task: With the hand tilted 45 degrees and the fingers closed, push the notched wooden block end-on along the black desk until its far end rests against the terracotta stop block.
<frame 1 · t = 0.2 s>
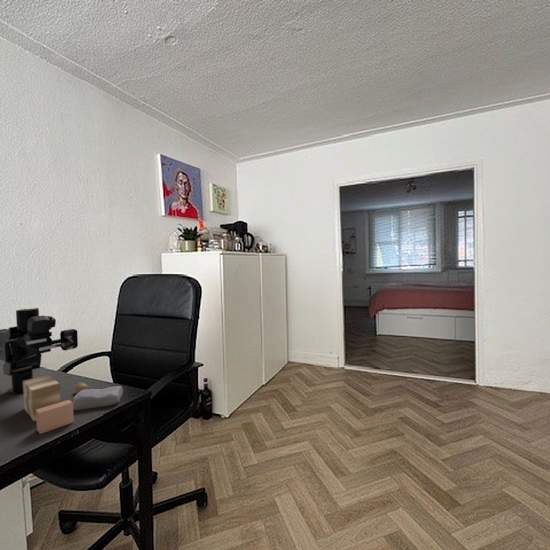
hand: (55, 348, 89), 16 cm above the table, tool horizontal, fingers open, 9 cm apart
stop block: (55, 425, 76), on the table
notched wooden block: (41, 396, 85), point 4 cm above the table, slide at 0.0 cm
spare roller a: (82, 393, 97), on the table
stone block: (100, 402, 90), on the table
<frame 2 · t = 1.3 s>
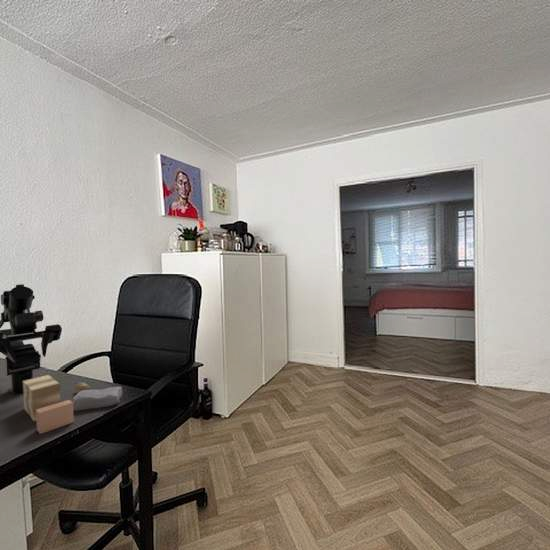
hand: (30, 358, 93), 13 cm above the table, tool tilted 45°, fingers open, 7 cm apart
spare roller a: (82, 393, 97), on the table, tilted 8°
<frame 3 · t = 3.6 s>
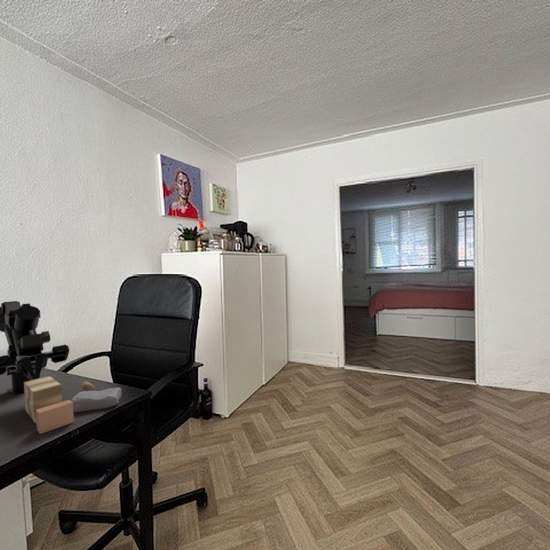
hand: (36, 383, 88), 7 cm above the table, tool tilted 45°, fingers closed, pressing on notched wooden block
notched wooden block: (42, 397, 84), point 4 cm above the table, slide at 1.5 cm, touching gripper
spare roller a: (83, 391, 97), on the table, tilted 50°
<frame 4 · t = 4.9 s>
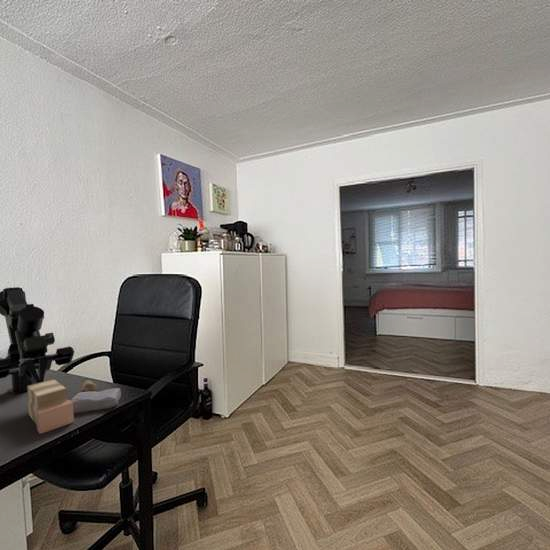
hand: (40, 386, 85), 7 cm above the table, tool tilted 45°, fingers closed, pressing on notched wooden block
notched wooden block: (47, 402, 81), point 4 cm above the table, slide at 6.2 cm, touching gripper, stop block
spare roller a: (84, 389, 97), point 1 cm above the table, tilted 79°
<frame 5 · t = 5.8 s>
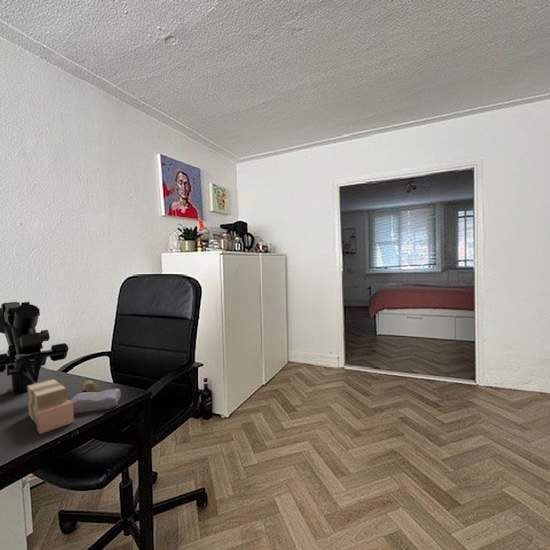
hand: (35, 381, 89), 7 cm above the table, tool tilted 45°, fingers closed
notched wooden block: (47, 402, 81), point 4 cm above the table, slide at 6.2 cm, touching stop block
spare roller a: (84, 388, 97), point 1 cm above the table, tilted 86°
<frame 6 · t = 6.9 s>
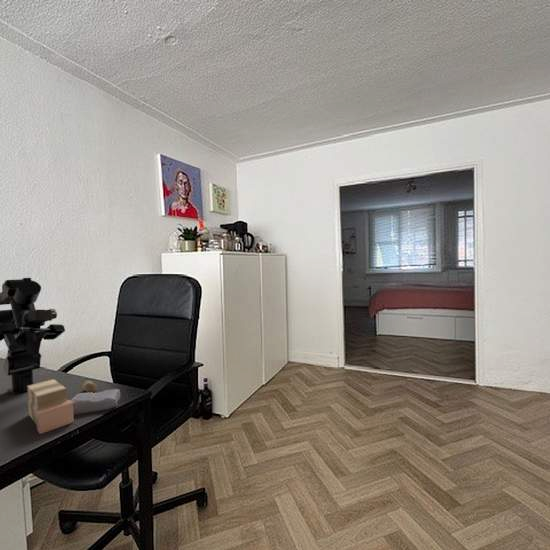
hand: (36, 356, 93), 13 cm above the table, tool tilted 35°, fingers closed
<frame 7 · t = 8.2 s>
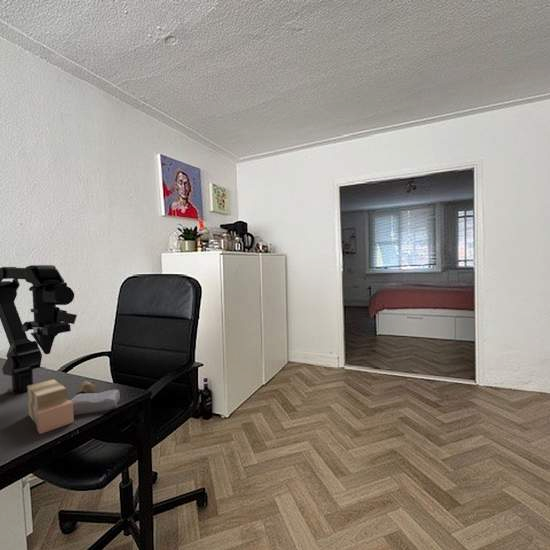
hand: (47, 353, 96), 13 cm above the table, tool pointing down, fingers closed
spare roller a: (83, 391, 97), point 1 cm above the table, tilted 56°
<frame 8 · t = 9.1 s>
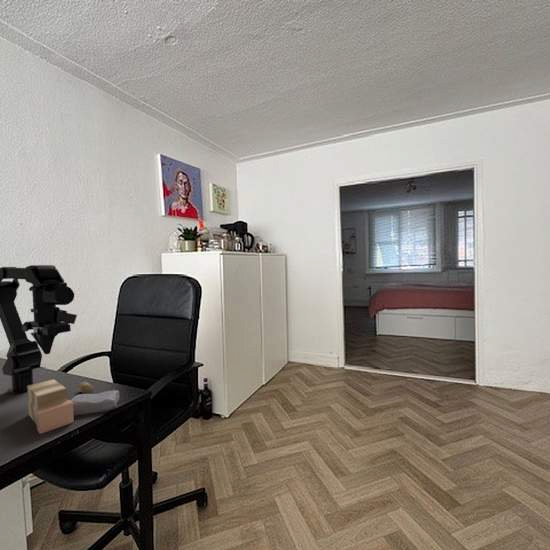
hand: (47, 353, 96), 13 cm above the table, tool pointing down, fingers closed
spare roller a: (82, 392, 97), on the table, tilted 34°
at the end: notched wooden block slide at 6.2 cm; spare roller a moved 0.1 cm from its start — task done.
